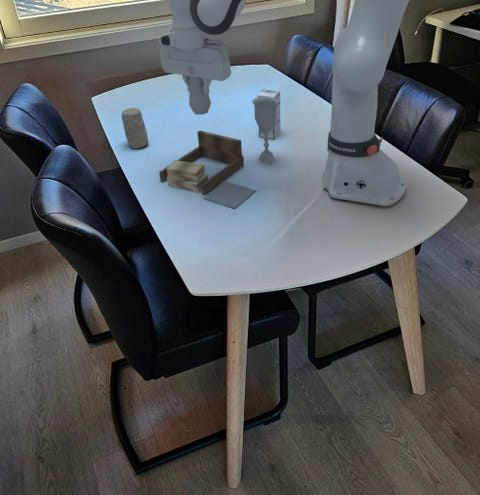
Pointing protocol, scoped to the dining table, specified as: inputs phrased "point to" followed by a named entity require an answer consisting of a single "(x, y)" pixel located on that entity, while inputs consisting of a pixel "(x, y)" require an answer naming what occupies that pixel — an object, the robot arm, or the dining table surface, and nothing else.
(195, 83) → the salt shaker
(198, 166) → the offcut upper
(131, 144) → the carving
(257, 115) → the chalice
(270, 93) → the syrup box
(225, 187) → the slate mat
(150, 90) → the dining table surface
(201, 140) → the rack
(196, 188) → the offcut lower
